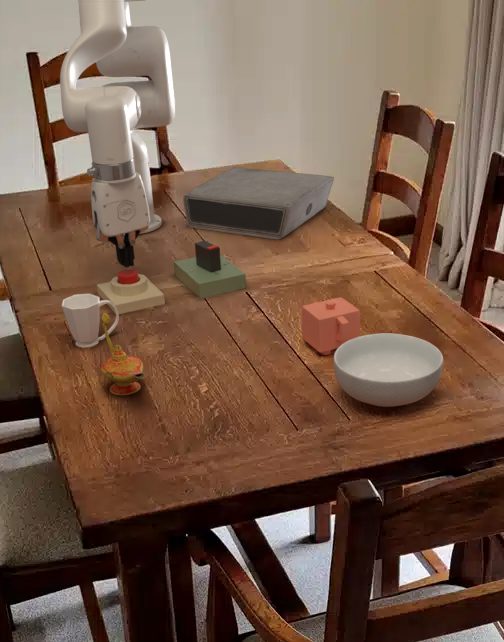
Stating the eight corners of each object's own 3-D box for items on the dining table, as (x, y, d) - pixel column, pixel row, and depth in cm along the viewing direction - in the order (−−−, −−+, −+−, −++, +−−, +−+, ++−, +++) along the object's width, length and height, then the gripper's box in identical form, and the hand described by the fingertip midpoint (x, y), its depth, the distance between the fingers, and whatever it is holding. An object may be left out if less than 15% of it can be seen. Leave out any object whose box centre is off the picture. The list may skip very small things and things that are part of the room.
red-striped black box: (196, 265, 194) (194, 242, 191) (206, 262, 195) (204, 239, 192) (211, 272, 190) (209, 249, 187) (221, 269, 191) (219, 246, 188)
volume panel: (174, 275, 198) (173, 260, 196) (219, 266, 201) (217, 251, 199) (200, 298, 187) (198, 283, 185) (246, 288, 190) (245, 273, 189)
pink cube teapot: (332, 327, 173) (332, 284, 169) (365, 352, 164) (366, 308, 160) (294, 336, 171) (293, 293, 166) (325, 362, 162) (325, 317, 157)
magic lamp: (126, 421, 149) (117, 357, 142) (92, 375, 162) (82, 315, 156) (167, 410, 151) (160, 347, 145) (130, 365, 164) (122, 306, 158)
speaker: (176, 227, 223) (290, 241, 211) (173, 193, 219) (289, 206, 206) (226, 197, 240) (335, 209, 228) (224, 165, 236) (334, 175, 223)
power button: (115, 280, 187) (114, 271, 186) (135, 276, 189) (134, 267, 188) (122, 287, 184) (121, 278, 183) (141, 283, 186) (140, 274, 185)
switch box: (97, 293, 192) (95, 274, 189) (144, 283, 195) (142, 265, 192) (116, 315, 182) (113, 295, 180) (165, 304, 186) (163, 284, 183)
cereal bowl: (365, 432, 143) (366, 390, 138) (315, 386, 155) (315, 346, 151) (461, 405, 148) (465, 364, 144) (405, 363, 160) (407, 324, 156)
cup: (63, 339, 174) (55, 298, 170) (114, 327, 178) (108, 286, 173) (74, 354, 169) (67, 312, 164) (127, 341, 173) (121, 299, 168)
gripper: (86, 183, 168) (101, 280, 179) (159, 165, 175) (169, 260, 186) (68, 173, 174) (83, 269, 184) (139, 156, 180) (150, 250, 191)
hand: (126, 264), depth 185 cm, fingers closed
